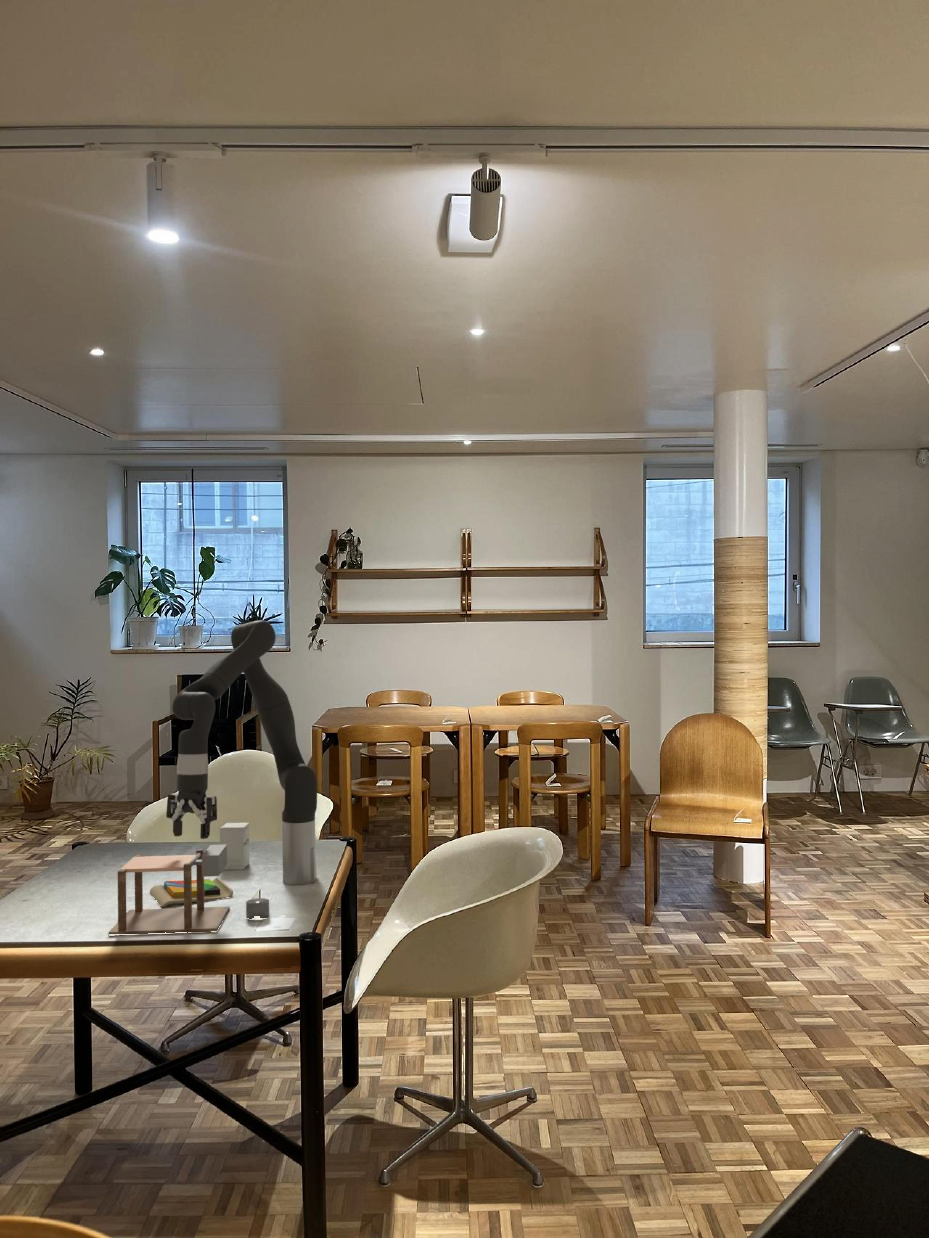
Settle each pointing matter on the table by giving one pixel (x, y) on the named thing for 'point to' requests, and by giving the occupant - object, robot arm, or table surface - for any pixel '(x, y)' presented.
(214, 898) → the wooden puzzle
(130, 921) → the trapdoor stand
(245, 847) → the supplement box
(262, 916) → the stubby grey cylinder
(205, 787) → the robot arm
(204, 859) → the trapdoor
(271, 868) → the table surface
